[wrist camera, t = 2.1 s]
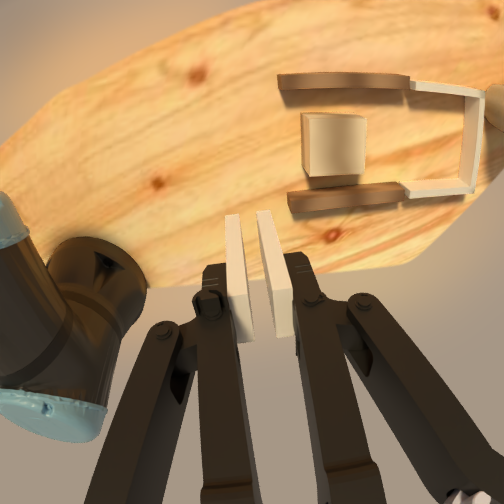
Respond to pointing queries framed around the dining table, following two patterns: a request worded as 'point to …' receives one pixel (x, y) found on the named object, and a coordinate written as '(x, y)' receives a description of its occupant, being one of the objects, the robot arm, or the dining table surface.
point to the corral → (469, 144)
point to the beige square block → (333, 143)
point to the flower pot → (495, 106)
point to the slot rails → (353, 193)
